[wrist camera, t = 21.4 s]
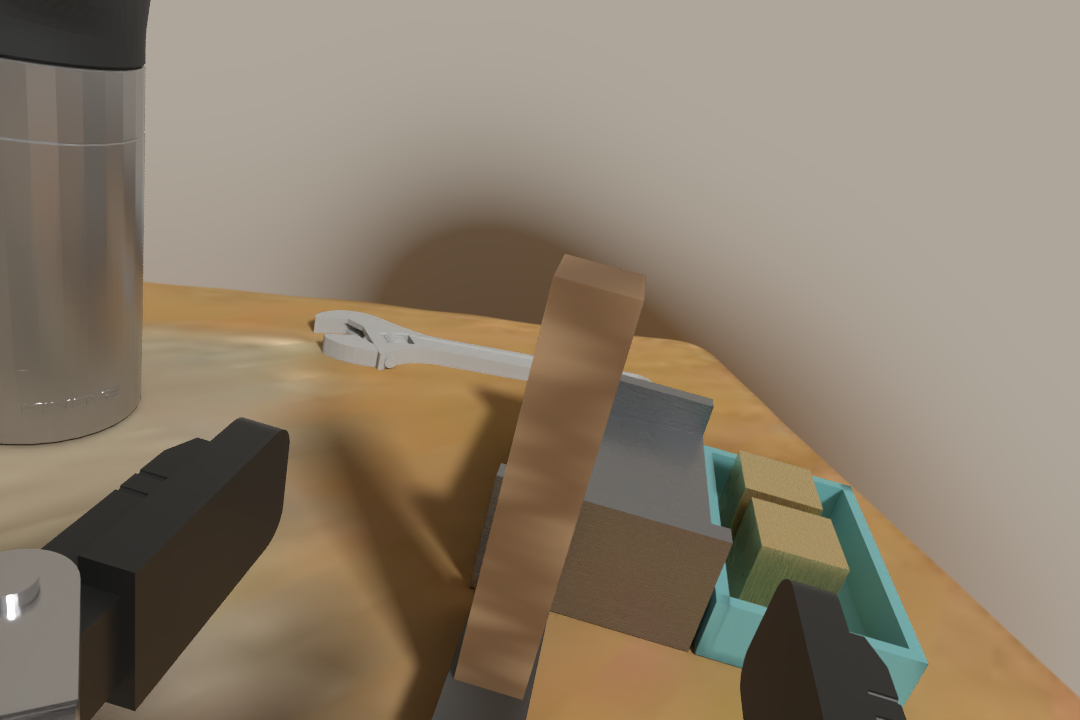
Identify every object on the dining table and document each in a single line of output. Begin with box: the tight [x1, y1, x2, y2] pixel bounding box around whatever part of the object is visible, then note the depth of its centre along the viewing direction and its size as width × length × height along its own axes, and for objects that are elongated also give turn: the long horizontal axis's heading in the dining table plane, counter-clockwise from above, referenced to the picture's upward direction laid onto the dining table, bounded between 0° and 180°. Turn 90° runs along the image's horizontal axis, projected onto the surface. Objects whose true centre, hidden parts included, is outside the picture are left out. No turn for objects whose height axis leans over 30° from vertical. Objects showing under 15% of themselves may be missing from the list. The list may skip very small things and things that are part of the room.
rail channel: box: [469, 374, 733, 652], centre depth 38 cm, size 10×14×6 cm
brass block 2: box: [726, 497, 850, 607], centre depth 35 cm, size 4×4×4 cm
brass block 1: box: [718, 450, 823, 541], centre depth 40 cm, size 4×4×4 cm
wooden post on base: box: [432, 254, 646, 720], centre depth 24 cm, size 3×9×17 cm, turn 171°
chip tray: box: [694, 445, 928, 708], centre depth 38 cm, size 9×14×3 cm, turn 171°
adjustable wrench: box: [314, 310, 651, 382], centre depth 53 cm, size 25×6×2 cm, turn 90°
